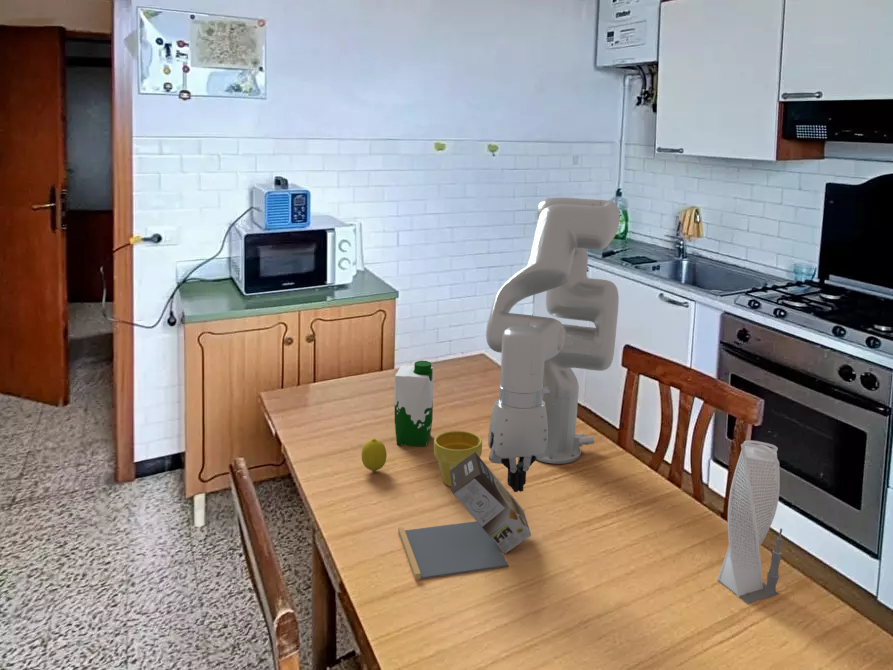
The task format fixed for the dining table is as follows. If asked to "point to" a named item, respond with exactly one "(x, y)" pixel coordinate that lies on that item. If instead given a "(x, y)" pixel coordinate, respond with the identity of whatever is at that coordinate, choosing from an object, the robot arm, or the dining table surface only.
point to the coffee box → (489, 503)
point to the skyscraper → (752, 523)
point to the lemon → (374, 455)
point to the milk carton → (414, 404)
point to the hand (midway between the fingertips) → (516, 488)
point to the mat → (450, 550)
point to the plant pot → (455, 450)
